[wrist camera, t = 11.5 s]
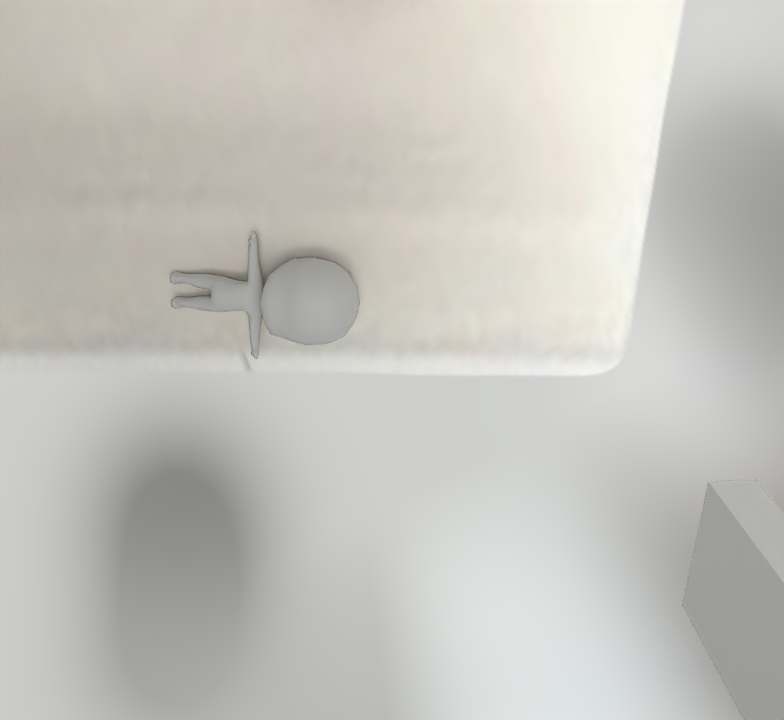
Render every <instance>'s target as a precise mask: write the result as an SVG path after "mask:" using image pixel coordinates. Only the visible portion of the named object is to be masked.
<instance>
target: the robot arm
mask: <svg viewBox="0 0 784 720" xmlns="http://www.w3.org/2000/svg"><path fill="white" fill-rule="evenodd" d="M682 606H683V608H684V610H685V611H686V613H687V615H688V617H689V619H690V621H691V623H692V625H693V626H694V628H695V630H696V632H697V634H698V636H699V638H700V640H701V641H702V643H703V645H704V647H705V649H706V650H707V652H708V654H709V656H710V658H711V660H712V662H713V664H714V666H715V668H716V669H717V671H718V673H719V675H720V677H721V679H722V681H723V682H724V684H725V686H726V688H727V690H728V692H729V694H730V696H731V697H732V699H733V701H734V703H735V705H736V707H737V708H738V710H739V712H740V714H741V716H742V718H743V720H784V512H783V511H782V510H781V508H780V507H779V506H778V505H777V504H776V502H775V501H774V500H773V499H772V498H771V497H770V495H769V494H768V493H767V492H766V491H765V490H764V488H763V487H762V486H761V485H760V484H759V483H758V481H757V480H756V479H745V480H724V481H708V485H707V490H706V494H705V499H704V504H703V508H702V513H701V518H700V523H699V528H698V532H697V537H696V542H695V546H694V551H693V556H692V561H691V565H690V570H689V575H688V580H687V584H686V589H685V594H684V598H683V603H682Z"/></svg>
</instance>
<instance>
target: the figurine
mask: <svg viewBox="0 0 784 720" xmlns="http://www.w3.org/2000/svg"><path fill="white" fill-rule="evenodd" d="M248 241H249V255H248V280H247V281H239V280H233V279H230V278H227V277H225V276H217V275H212V274H186V273H181V272H174V273H172V274H171V275H170V282H171V283H173V284H177V283H186V284H190V285H193V286H195V287H198V288H203V289H208V290H211V296H207V295H203V296H195V297H191V298H188V297H180V296H178V297H175V298H173V299H172V300H171V306H172V307H173V308H175V309H177V308H181V307H189V308H194V309H199V310H205V311H216V312H226V311H245V312H247V313H248V317H249V329H250V340H251V348H252V352H251V354H252V355H253V356H254V358H255V359H257V358H258V355H259V334H260V326H261V320H262V315H263V319H264V323H265V325H266V327H267V329H268V331H269V333H270V334H271V335H274V336H277V337H281V338H284V339H287V340H290V341H293V342H297V343H301V344H304V345H315V344H326V343H331V342H333V341H335V340H337V339H339V338H341V337H344V336H345V335H346V333H347V332H348V330H349V329H350V327H351V326H352V325H353V323H354V321H355V319H356V316H357V312H358V307H359V303H360V302H359V296H358V290H357V286H356V284H355V283H354V281H353V279H352V277H351V276H350V274H349V273H348V272H347V271H346V270H344V269H343V268H342V267H340V266H339V265H338V264H336V263H333V262H330V261H326V260H323V259H317V257H302V258H296V259H291V260H289V261H288V262H286V263H284V264H283V265H281V266H279V267H278V268H277V269H276V270H275V271H274V272H273V273H271V274H270V275H269V276H268V278H267V281H266V283H265V286H264V283H263V279H262V276H261V272H260V267H259V262H258V249H257V236H256V232H254V231H253V232H252V233H251V235H250V239H249V240H248Z"/></svg>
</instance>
